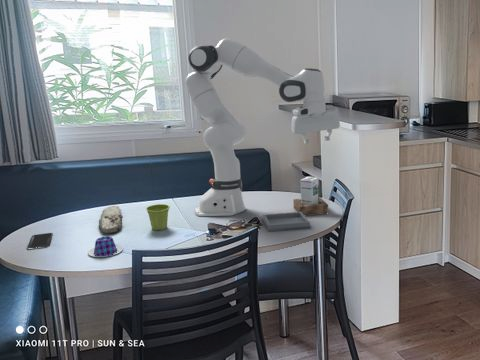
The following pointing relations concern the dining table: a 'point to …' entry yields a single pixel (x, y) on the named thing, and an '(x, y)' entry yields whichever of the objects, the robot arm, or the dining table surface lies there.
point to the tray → (286, 221)
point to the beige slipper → (111, 219)
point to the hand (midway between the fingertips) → (316, 142)
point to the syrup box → (309, 191)
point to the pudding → (105, 247)
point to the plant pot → (158, 216)
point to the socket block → (311, 207)
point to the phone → (40, 240)
